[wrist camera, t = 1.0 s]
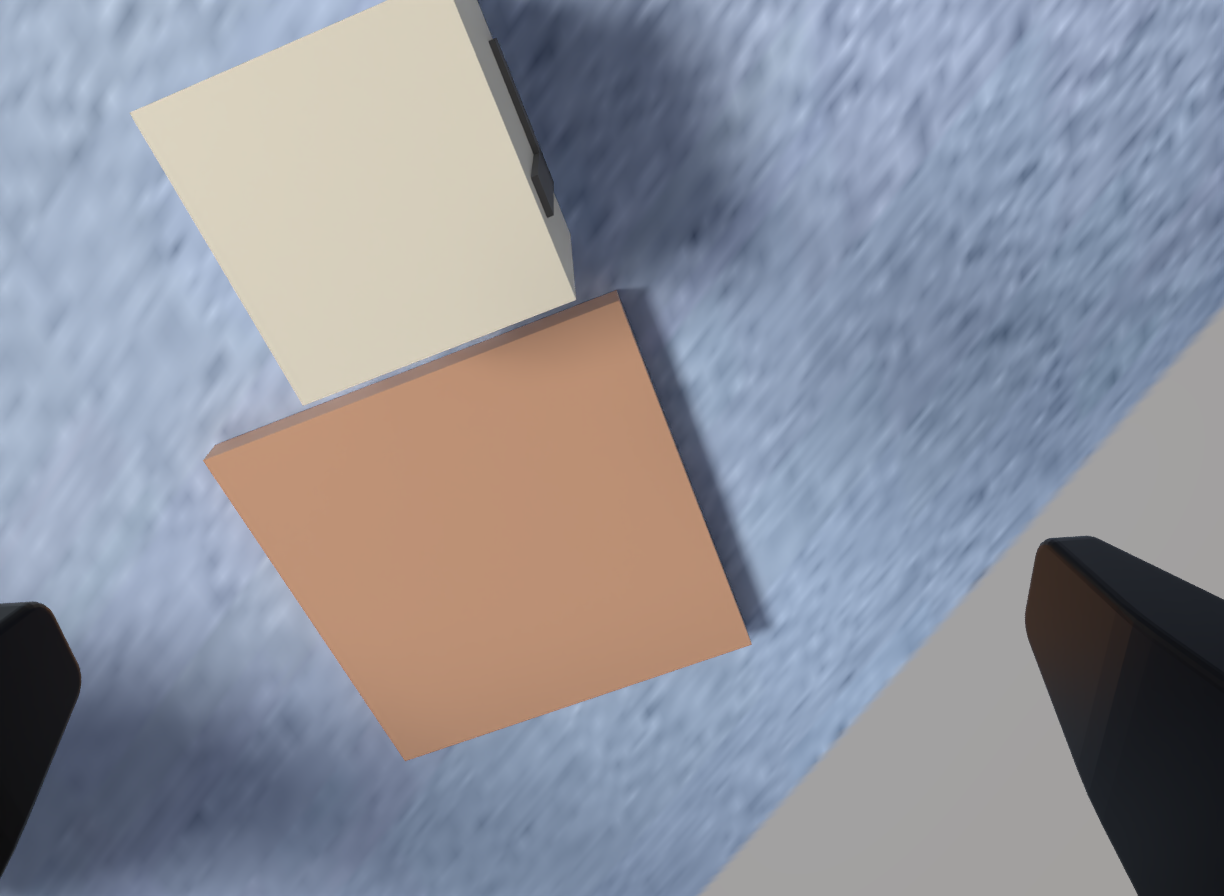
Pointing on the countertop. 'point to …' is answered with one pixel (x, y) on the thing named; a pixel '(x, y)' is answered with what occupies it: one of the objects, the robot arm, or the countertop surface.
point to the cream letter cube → (370, 191)
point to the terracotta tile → (491, 530)
